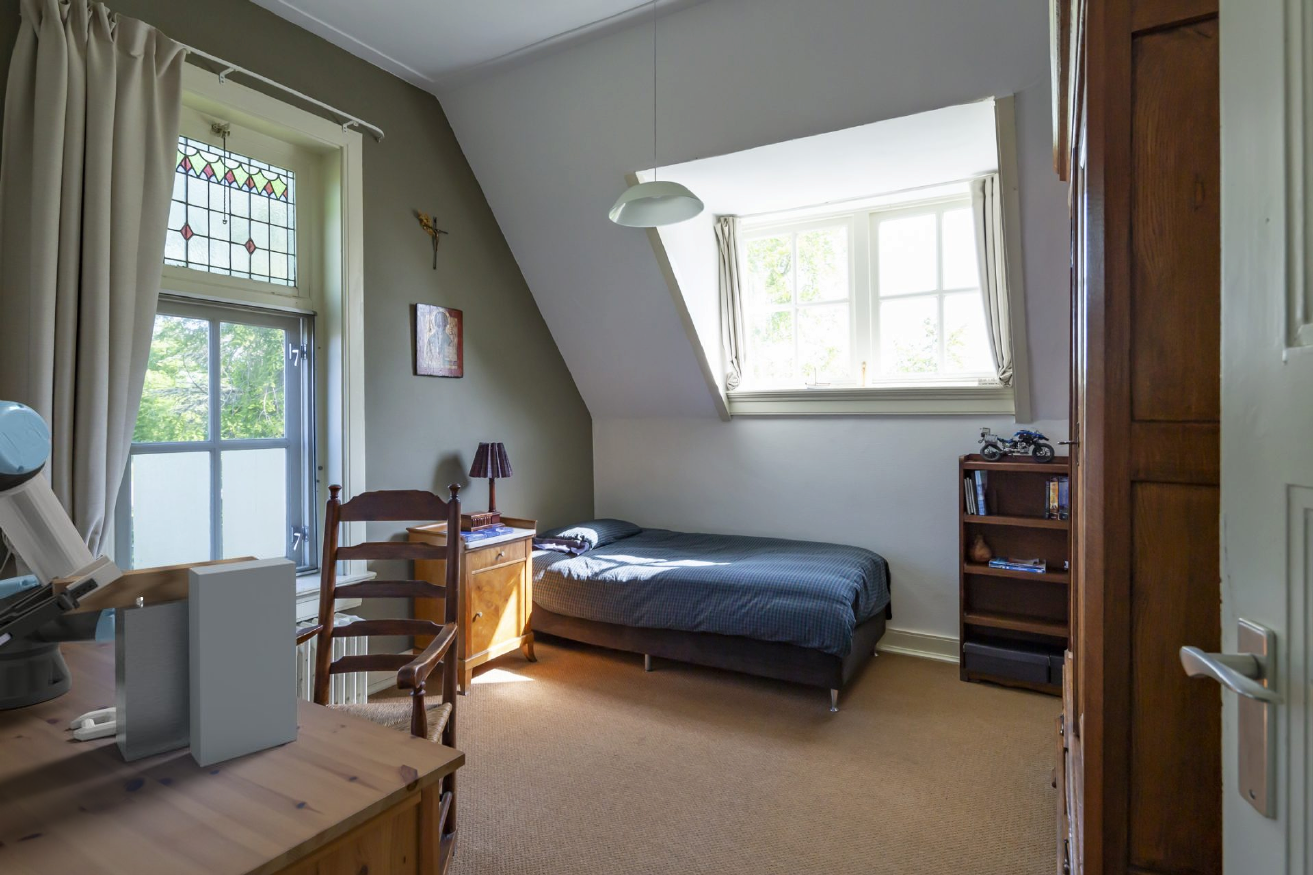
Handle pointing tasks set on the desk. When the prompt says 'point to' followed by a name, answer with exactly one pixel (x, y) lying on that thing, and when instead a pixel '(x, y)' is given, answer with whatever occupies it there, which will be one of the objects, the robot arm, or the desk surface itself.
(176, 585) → the rail
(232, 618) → the stand
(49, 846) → the desk surface
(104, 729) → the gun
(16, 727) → the desk surface
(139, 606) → the plate
